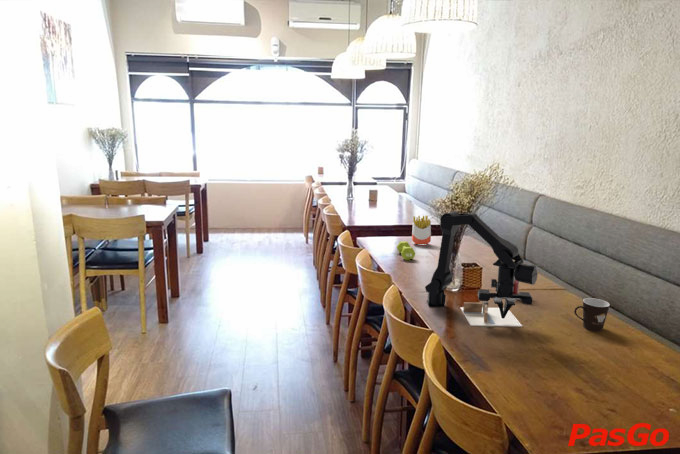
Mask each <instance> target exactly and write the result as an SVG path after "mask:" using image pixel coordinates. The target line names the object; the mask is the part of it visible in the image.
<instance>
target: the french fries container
mask: <svg viewBox="0 0 680 454" xmlns="http://www.w3.org/2000/svg"><path fill="white" fill-rule="evenodd" d="M412 218H413V219H412V229H411V230H412V231H411V241H412V242H413V243H414V244H415V245H416V244H427V245H428V244H430V243H431V241H432V231H431V229H432V226H431V225H432V224H431V223H432V221H431V219H430V218H428V215H422V217H421V215H418V217H416V216H413V217H412Z"/></svg>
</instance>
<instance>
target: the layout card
mask: <svg viewBox="0 0 680 454" xmlns="http://www.w3.org/2000/svg"><path fill="white" fill-rule="evenodd" d="M459 308H460V310H461V312H462V313H463V315H464V317H465V319H466V320H467V322H468V324H469V326H471V327H511V328H512V327H515V328H516V327H517V328H518V327H520V328H522V327H523V324H521V323H520V321H519V320H518V319H517V318H516V316H515V315H514V314H513V313H512V311H511V310H510V309H509V311H508V312H507V314H506V316H505V318H504V319H503V318H502V317H501V313H500V309H499V307H488V314H487V323H485V322H484V313H483V307H482V312H464V311H463V309H464V306H462V307H459ZM503 310H504V307H503Z"/></svg>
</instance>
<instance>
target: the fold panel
mask: <svg viewBox="0 0 680 454" xmlns="http://www.w3.org/2000/svg"><path fill="white" fill-rule="evenodd" d="M487 314H488V311H487V305H486V304H485V306H484V322H485V323H487Z"/></svg>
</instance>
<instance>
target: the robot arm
mask: <svg viewBox="0 0 680 454" xmlns="http://www.w3.org/2000/svg"><path fill="white" fill-rule="evenodd" d="M439 221H440V223H439V224H440V230H441V233H442V234H441V235H442V236H441V243H440V248H439V256H438V260H437V267H436V269H435V270H434V272H433V274H432V276H431V281H430V282H429V283H428V284H427V285H426V286H424V289H425V292H426V293H427V299H426V303H427V305H428V307H429V308H445V306H446V305H445V304H446V296H447V295H446V293H445V290H446V289H447V288H448V286H450V285H451V283H453V278H454V271H453V272H452V271H451V269H450V267H451V266H450V265H451V261H452V253H453V248H454V247H453V246H454V241H455V235H456V233H457V231H458V230H459V228H460V227H461V226H464V225H467V226H470V228H472V230H474V231H475V233H477V234H478V235H479V237H481V238H482V239H483V240H484V241H485V242H486V243H487V244H488V245H489V247H491V249H492V252H493V253H494V255H495V256H496V258H497V260H496V261H495V262H493V263H492V265H493V266H496V267H498V269H497V279H495V278H491V279H490V288H495V292H491V291H490V290H489V289H482V288H479V289H478V290H477V297H478V301H480V302H489V301H490V300H491V299H493V303H494V304H495V305H497V308H499V309H500V313H501V317H502V318H503V319H504V318H505V316H506V314H507V312H508V311H509V310H510V309H511V308H512V307H513V306H516V301H520V302H521V304H523V305H530V306H531V305H533V296H532V294H531V293H530V292H528V291H526V292H525V291H518V294H517V295H515V294H513V287H514V277H515V280H517V281H518V282H519V283H523V284H528V285H532V286H533V285H535V284H536V282H537V279H538V270H537V265H535V264H526V263H524V260H523V258H522V257H521V255H520V253H519V248H518V247H517V246H516V245H515V244H513V243H512V242H511V241H509V240H507V239H505V238H502V237H501V236H499V235H498V234H497V233H496V232H495V231H494V230H493V229H492V228H491V227H490V226H489V225H487V223H486V222H484V221H483V219H481V218H480V217H479V216H478V214H477V213H475V212H471V213H465V212H464V213H463V212H460V213H459V211H449V212H445V213H444V214H442V215H441V216H440V220H439ZM503 300H504V302H503ZM503 308H504V310H503Z"/></svg>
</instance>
